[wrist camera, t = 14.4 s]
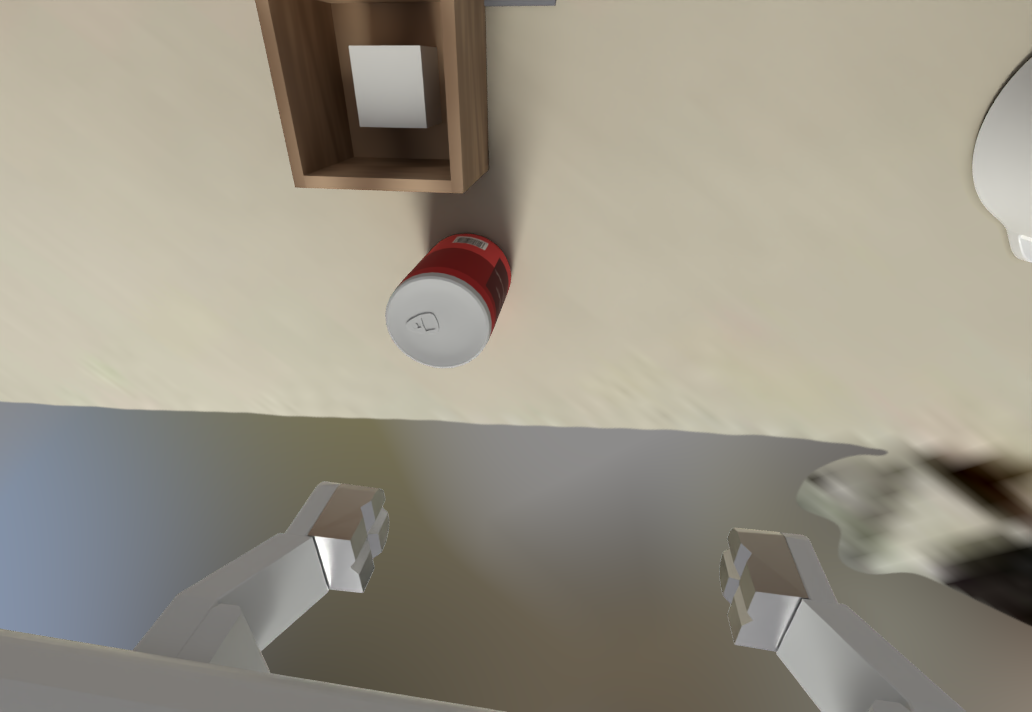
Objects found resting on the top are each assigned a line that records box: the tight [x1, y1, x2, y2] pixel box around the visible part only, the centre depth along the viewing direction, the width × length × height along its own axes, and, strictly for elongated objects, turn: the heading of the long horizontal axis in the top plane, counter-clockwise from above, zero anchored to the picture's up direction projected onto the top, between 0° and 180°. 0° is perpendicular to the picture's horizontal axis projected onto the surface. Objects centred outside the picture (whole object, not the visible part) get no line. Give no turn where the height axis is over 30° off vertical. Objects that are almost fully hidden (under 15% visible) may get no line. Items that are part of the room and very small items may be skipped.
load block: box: [349, 46, 442, 128], centre depth 36 cm, size 5×5×4 cm
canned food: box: [385, 234, 511, 368], centre depth 41 cm, size 8×8×11 cm
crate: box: [255, 0, 489, 193], centre depth 35 cm, size 12×12×9 cm
